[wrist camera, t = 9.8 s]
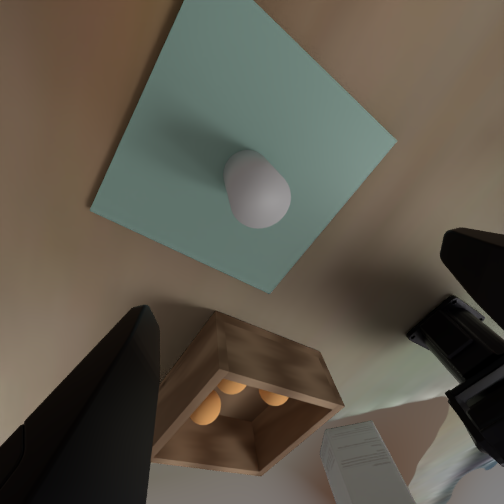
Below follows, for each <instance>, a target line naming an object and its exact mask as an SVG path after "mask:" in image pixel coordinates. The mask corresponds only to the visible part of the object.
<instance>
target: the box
mask: <svg viewBox="0 0 504 504" xmlns="http://www.w3.org/2000/svg"><path fill="white" fill-rule="evenodd" d="M222 379H227V380H230V381H234V382H237V383H241V384H244V385H247V386H246V387H245V388H244V389H243V390H242V391H241V392H239V393H237V394H226V393H224V392H222V391H221V390H220V389H219V388H218V387H217V385H218V384H219V383H220V381H221V380H222ZM259 389H262V390H265V391H269V392H272V393H276V394H279V395H283V396H286V397H289V398H288V400H287V401H286V402H285V403H283V404H282V405H279V406H272V405H269V404H267V403H266V402H265V401H264V400H263V399H262V398H261V396H260V394H259ZM213 390H214V391H216V392H217V394H218V395H219V397H220V400H221V409H220V413H219V415H218V416H217V418H216V419H215V420H214V421H213V422H212V423H210V424H207V425H199V424H196V423H195V422H193V421H192V419H191V418H190V416H191V414H192V413H193V412H194V411H195V410H196V409H197V408H198V406H199V405H200V404H201V403H202V402H203V401H204V400H205V399H206V397H207V396H208V395H209V394H210V393H211V392H212V391H213ZM344 407H345V406H344V403H343V401H342V399H341V397H340V395H339V392H338V390H337V388H336V386H335V384H334V381H333V379H332V377H331V375H330V373H329V370H328V368H327V366H326V364H325V362H324V359H323V357H322V355H321V353H320V352H319V351H317V350H314V349H311V348H309V347H306V346H304V345H301V344H299V343H296V342H294V341H291V340H289V339H286V338H284V337H281V336H279V335H276V334H273V333H271V332H268V331H266V330H263V329H261V328H258V327H256V326H253V325H251V324H248V323H246V322H243V321H241V320H238V319H235V318H233V317H230V316H228V315H225V314H223V313H220V312H218V311H215V312H214V313H213V315H212V316H211V317H210V319H209V320H208V321H207V323H206V324H205V325H204V327H203V328H202V329H201V331H200V332H199V333H198V335H197V336H196V337H195V339H194V340H193V341H192V342H191V344H190V345H189V346H188V348H187V349H186V350H185V352H184V353H183V354H182V356H181V357H180V358H179V360H178V361H177V362H176V364H175V365H174V366H173V367H172V369H171V370H170V371H169V373H168V374H167V375H166V377H165V378H164V379H163V381H162V382H161V383H160V385H159V393H158V402H157V411H156V419H155V428H154V437H153V445H152V454H151V462H152V463H160V464H169V465H176V466H184V467H192V468H200V469H207V470H215V471H223V472H231V473H240V474H247V475H255V476H262V475H263V474H264V473H266V472H267V471H268V470H269V469H270V468H271V467H273V466H274V465H275V464H276V463H278V462H279V461H280V460H281V459H282V458H284V457H285V456H286V455H287V454H288V453H290V452H291V451H292V450H293V449H294V448H295V447H297V446H298V445H299V444H300V443H302V442H303V441H304V440H305V439H306V438H307V437H309V436H310V435H311V434H312V433H314V432H315V431H316V430H317V429H318V428H320V427H321V426H322V425H323V424H324V423H326V422H327V421H328V420H329V419H330V418H332V417H333V416H334V415H335V414H336V413H338V412H339V411H340V410H341V409H342V408H344Z"/></svg>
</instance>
